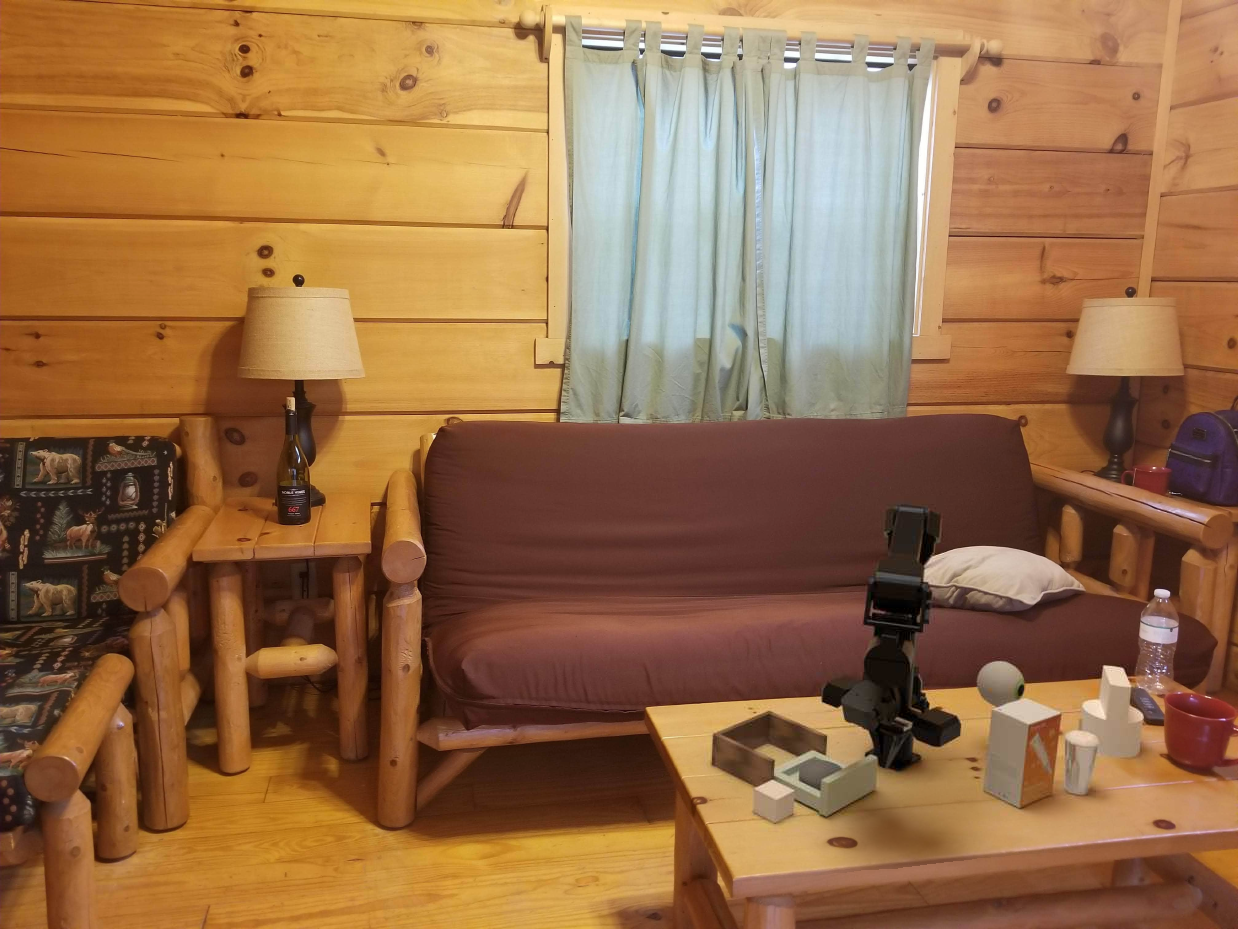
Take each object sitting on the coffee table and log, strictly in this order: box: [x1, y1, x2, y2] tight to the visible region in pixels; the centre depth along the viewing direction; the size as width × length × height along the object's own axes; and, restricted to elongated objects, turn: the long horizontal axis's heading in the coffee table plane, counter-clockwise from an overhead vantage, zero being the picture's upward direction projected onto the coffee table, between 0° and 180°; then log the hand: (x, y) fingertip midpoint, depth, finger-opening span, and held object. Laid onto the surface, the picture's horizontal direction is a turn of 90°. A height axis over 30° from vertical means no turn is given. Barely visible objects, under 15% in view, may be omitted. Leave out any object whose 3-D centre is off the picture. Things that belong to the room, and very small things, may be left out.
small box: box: [982, 697, 1062, 809], centre depth 145 cm, size 8×6×13 cm
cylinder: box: [799, 760, 842, 791], centre depth 146 cm, size 6×6×2 cm
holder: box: [711, 710, 828, 788], centre depth 153 cm, size 12×13×5 cm
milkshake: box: [1063, 718, 1099, 796], centre depth 147 cm, size 4×5×10 cm
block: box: [752, 780, 795, 824], centre depth 139 cm, size 4×4×4 cm
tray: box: [774, 750, 879, 817], centre depth 146 cm, size 11×12×5 cm
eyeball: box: [976, 660, 1026, 708], centre depth 158 cm, size 7×7×15 cm
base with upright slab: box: [1080, 665, 1144, 759], centre depth 162 cm, size 9×9×12 cm
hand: (884, 767), depth 137 cm, fingers closed
